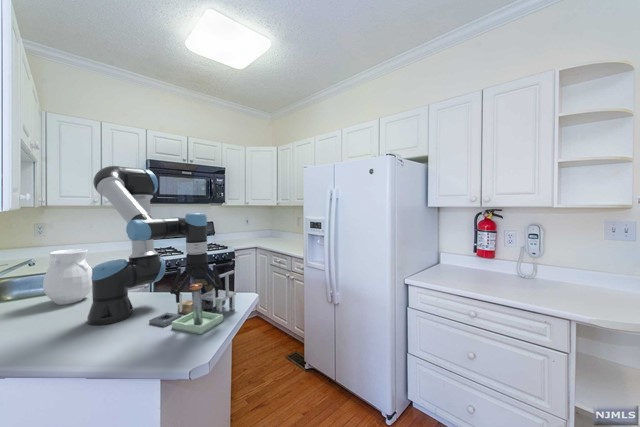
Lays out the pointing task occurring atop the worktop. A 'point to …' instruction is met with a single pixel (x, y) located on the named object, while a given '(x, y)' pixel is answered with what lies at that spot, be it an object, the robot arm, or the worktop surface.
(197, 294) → the pin
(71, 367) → the worktop surface
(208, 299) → the trolley
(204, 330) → the tray
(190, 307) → the block
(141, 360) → the worktop surface
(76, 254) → the white vase
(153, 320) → the collar
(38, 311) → the worktop surface
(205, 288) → the canister
